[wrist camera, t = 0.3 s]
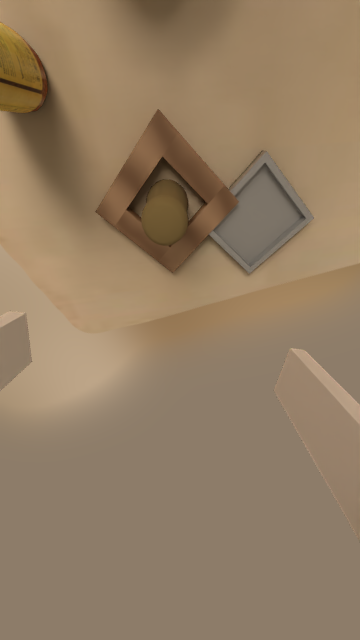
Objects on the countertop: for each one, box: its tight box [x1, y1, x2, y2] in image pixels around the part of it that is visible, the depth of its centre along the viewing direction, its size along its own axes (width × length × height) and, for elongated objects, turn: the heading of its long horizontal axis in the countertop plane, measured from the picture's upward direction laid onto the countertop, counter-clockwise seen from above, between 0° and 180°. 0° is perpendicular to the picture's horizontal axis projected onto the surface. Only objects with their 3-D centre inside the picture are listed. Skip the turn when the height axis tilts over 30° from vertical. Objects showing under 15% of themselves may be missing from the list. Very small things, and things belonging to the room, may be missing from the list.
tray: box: [209, 151, 314, 274], centre depth 33 cm, size 12×12×2 cm
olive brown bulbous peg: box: [141, 180, 188, 246], centre depth 28 cm, size 6×6×11 cm
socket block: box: [96, 109, 239, 273], centre depth 32 cm, size 14×14×2 cm
